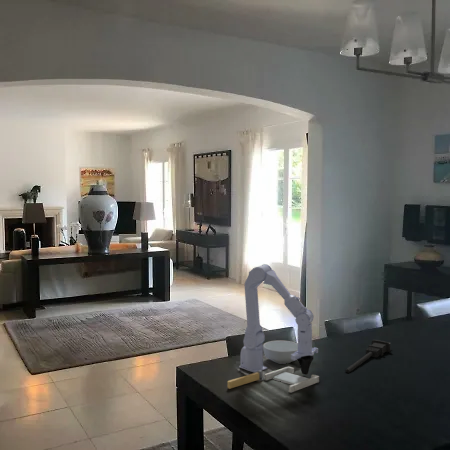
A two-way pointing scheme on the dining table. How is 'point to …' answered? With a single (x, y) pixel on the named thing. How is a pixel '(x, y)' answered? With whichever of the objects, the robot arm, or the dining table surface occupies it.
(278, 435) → the dining table surface
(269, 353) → the cereal bowl
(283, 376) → the hard drive
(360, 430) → the dining table surface
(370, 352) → the electrical plug
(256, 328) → the robot arm
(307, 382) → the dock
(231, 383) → the bar
